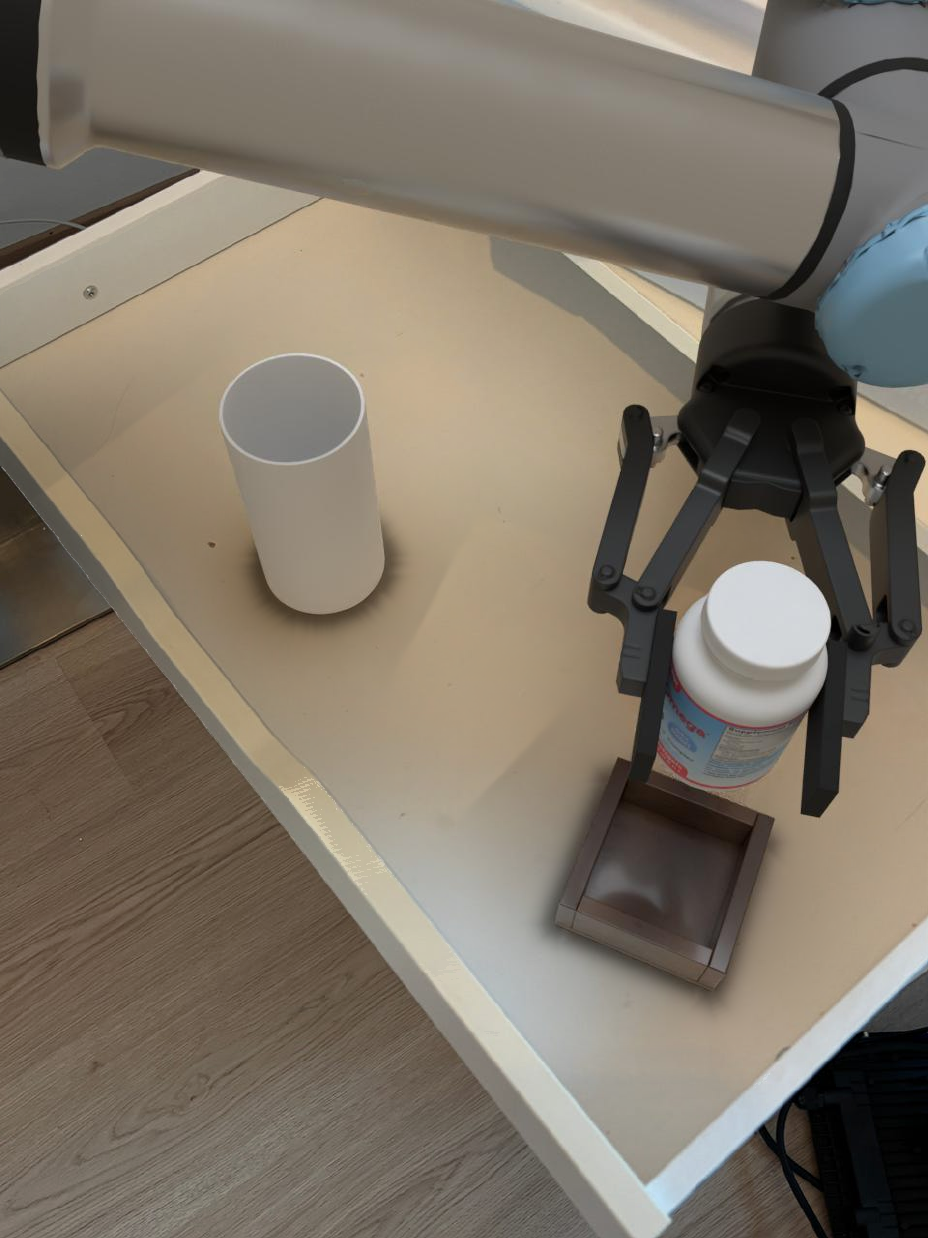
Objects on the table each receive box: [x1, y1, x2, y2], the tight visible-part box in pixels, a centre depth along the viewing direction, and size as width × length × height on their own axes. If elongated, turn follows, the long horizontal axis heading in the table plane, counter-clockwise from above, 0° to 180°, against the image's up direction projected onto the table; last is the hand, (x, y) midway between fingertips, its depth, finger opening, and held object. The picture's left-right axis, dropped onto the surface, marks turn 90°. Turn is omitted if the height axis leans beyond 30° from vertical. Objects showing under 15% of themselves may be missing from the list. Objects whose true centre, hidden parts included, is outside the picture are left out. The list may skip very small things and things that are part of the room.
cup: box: [218, 352, 386, 615], centre depth 71 cm, size 8×8×16 cm
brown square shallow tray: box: [554, 756, 776, 992], centre depth 65 cm, size 9×9×4 cm
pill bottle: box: [656, 560, 831, 793], centre depth 47 cm, size 6×6×11 cm
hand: (729, 785), depth 44 cm, fingers closed on pill bottle, 6 cm apart
